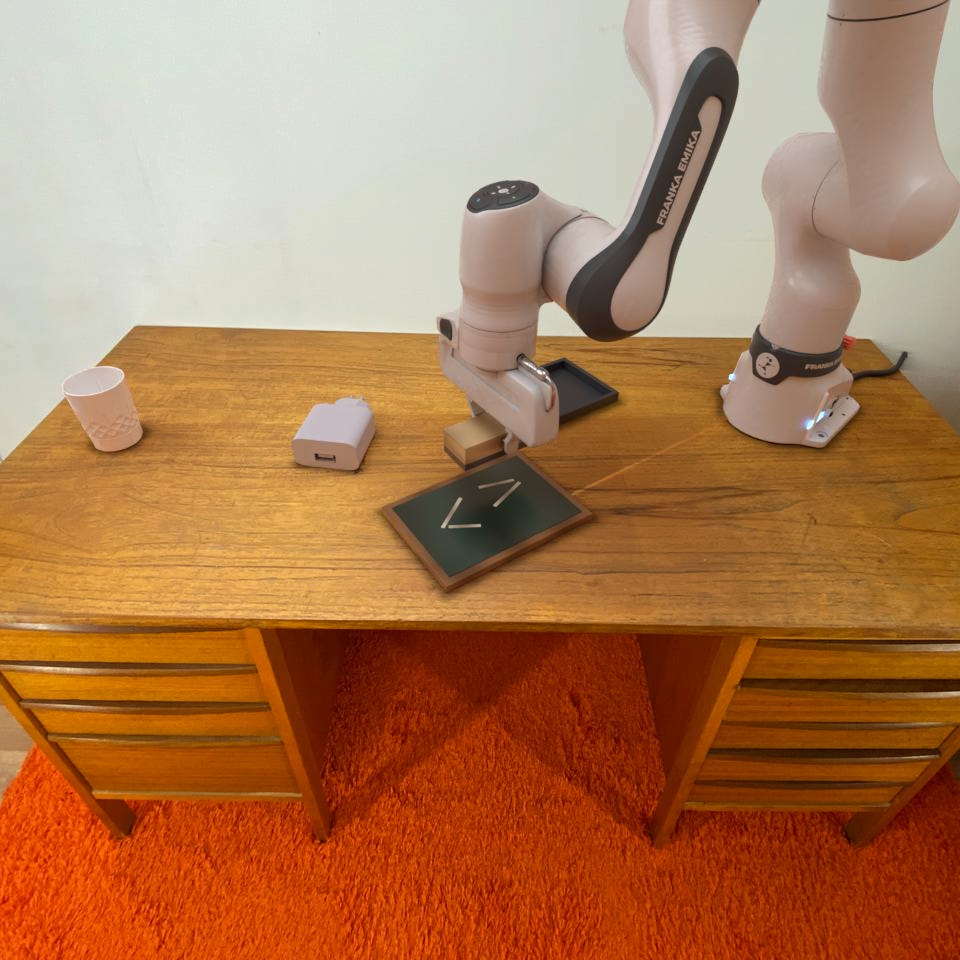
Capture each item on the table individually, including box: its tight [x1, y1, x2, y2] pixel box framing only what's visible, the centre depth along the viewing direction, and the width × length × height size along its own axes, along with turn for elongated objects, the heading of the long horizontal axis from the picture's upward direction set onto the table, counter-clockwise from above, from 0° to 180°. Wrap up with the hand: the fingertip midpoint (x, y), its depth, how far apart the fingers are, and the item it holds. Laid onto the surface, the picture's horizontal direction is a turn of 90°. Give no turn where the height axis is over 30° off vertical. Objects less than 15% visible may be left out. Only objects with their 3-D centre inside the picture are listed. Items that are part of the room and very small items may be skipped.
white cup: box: [60, 365, 144, 453], centre depth 91 cm, size 8×8×10 cm
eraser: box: [443, 411, 528, 472], centre depth 81 cm, size 12×5×4 cm, turn 124°
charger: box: [290, 394, 377, 471], centre depth 94 cm, size 5×9×15 cm
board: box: [381, 450, 594, 593], centre depth 82 cm, size 22×16×1 cm
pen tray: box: [538, 356, 620, 425], centre depth 103 cm, size 18×14×2 cm
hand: (493, 437), depth 81 cm, fingers closed on eraser, 5 cm apart
